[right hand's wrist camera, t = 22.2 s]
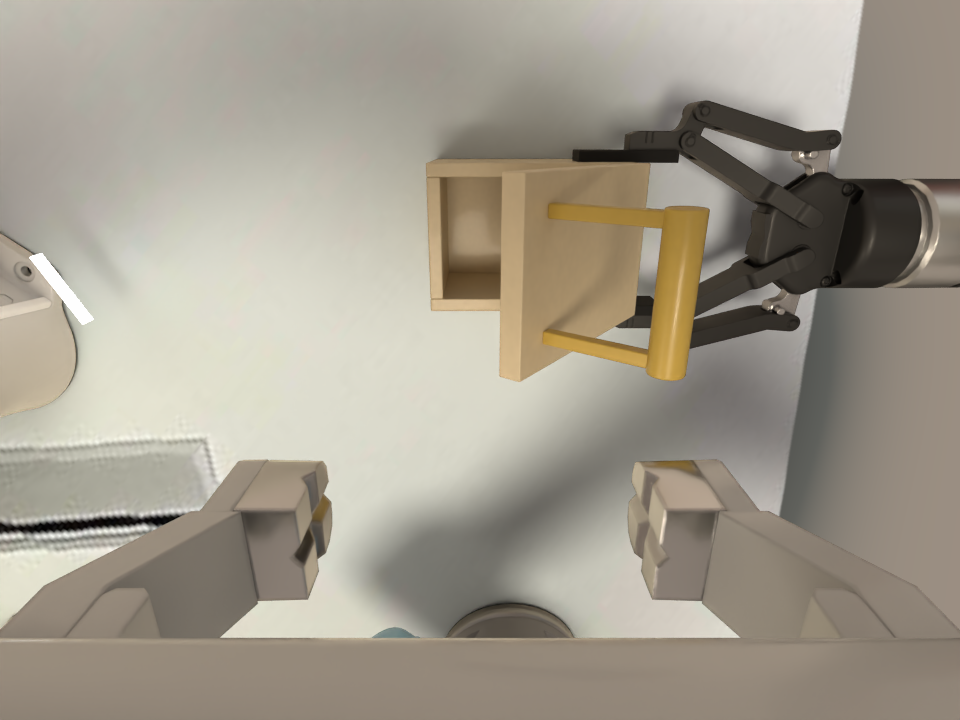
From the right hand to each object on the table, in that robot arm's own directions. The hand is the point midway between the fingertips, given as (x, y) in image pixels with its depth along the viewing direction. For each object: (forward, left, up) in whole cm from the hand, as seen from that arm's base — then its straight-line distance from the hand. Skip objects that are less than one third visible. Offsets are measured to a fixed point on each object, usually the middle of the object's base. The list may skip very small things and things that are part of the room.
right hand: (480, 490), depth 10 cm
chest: (+2, +3, -38) cm, 38 cm away
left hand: (+4, +5, -31) cm, 32 cm away
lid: (+3, +4, -22) cm, 23 cm away
